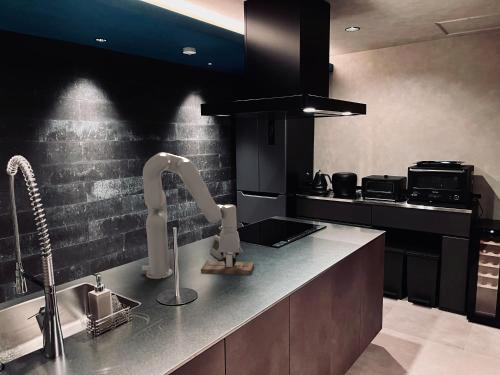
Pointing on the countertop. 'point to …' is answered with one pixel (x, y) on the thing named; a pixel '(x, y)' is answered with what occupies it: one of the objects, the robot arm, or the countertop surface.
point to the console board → (227, 268)
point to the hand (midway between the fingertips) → (230, 264)
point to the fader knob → (229, 259)
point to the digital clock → (215, 248)
